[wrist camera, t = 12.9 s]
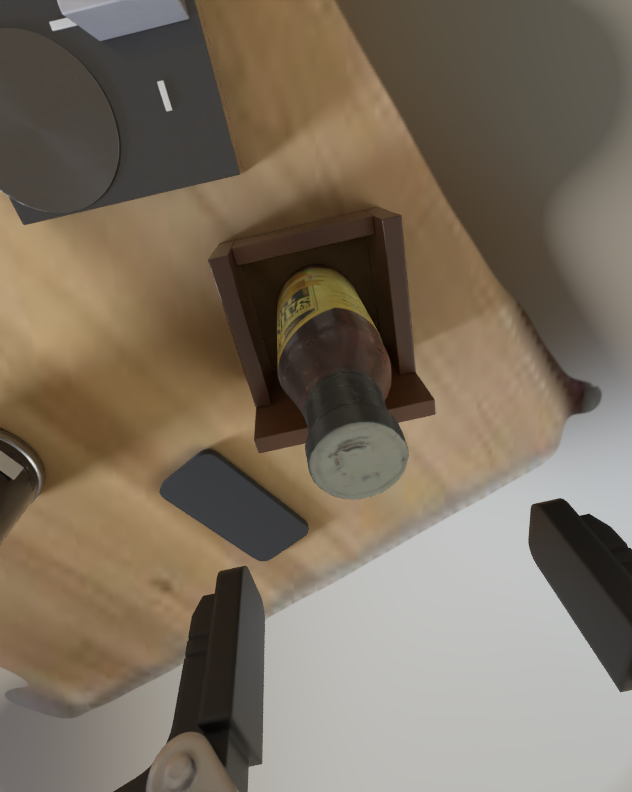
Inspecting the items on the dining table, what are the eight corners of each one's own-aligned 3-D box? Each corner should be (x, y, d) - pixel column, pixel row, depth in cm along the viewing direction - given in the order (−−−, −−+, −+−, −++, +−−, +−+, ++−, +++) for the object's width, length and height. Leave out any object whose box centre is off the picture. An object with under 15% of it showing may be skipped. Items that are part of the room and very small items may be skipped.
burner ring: (8, 227, 26) (6, 227, 26) (-87, 50, 22) (-90, 49, 21) (144, 195, 26) (143, 195, 26) (76, 10, 21) (74, 9, 21)
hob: (45, 219, 29) (21, 225, 26) (-82, -39, 22) (-132, -68, 19) (265, 168, 28) (265, 168, 26) (201, -110, 22) (191, -149, 19)
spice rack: (262, 384, 36) (258, 453, 28) (218, 243, 30) (197, 274, 22) (396, 354, 36) (435, 414, 27) (379, 206, 30) (422, 222, 21)
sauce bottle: (286, 253, 31) (302, 362, 14) (364, 272, 32) (469, 395, 15) (268, 333, 34) (264, 507, 17) (341, 348, 35) (407, 525, 18)
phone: (262, 565, 46) (153, 492, 40) (262, 558, 47) (155, 486, 40) (313, 530, 44) (207, 449, 38) (312, 524, 45) (208, 443, 38)
